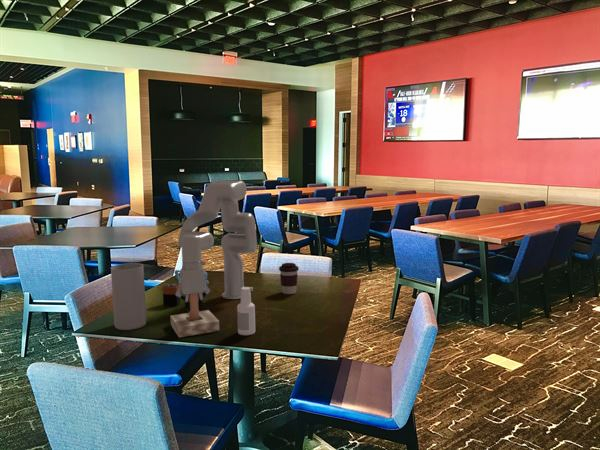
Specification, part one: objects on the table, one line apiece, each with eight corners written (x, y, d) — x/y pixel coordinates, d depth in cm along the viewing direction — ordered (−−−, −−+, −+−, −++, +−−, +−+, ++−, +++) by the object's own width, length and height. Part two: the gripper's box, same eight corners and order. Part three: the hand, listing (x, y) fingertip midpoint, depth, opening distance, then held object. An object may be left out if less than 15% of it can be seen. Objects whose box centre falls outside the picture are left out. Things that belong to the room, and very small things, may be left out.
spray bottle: (238, 329, 191) (237, 286, 188) (255, 329, 191) (254, 285, 189) (237, 336, 184) (236, 290, 181) (255, 335, 184) (254, 290, 182)
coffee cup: (299, 290, 249) (299, 262, 247) (297, 295, 239) (297, 266, 237) (280, 289, 250) (280, 261, 248) (278, 295, 240) (277, 265, 238)
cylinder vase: (135, 318, 206) (132, 262, 202) (152, 324, 198) (149, 265, 195) (108, 326, 196) (104, 267, 193) (125, 333, 188) (121, 271, 185)
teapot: (170, 287, 258) (169, 267, 256) (198, 281, 269) (197, 262, 268) (183, 292, 246) (183, 271, 245) (212, 287, 258) (212, 266, 256)
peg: (197, 317, 195) (196, 289, 194) (200, 320, 192) (199, 291, 190) (188, 319, 194) (187, 290, 192) (190, 321, 190) (189, 292, 189)
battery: (176, 306, 223) (175, 285, 222) (163, 305, 224) (162, 285, 223) (180, 303, 227) (179, 283, 226) (167, 303, 228) (166, 282, 227)
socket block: (208, 319, 204) (208, 310, 204) (219, 330, 190) (219, 321, 189) (170, 324, 197) (170, 315, 197) (178, 337, 183) (178, 327, 182)
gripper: (210, 261, 197) (211, 304, 199) (169, 265, 190) (170, 310, 192) (215, 265, 190) (216, 309, 193) (172, 269, 183) (174, 315, 185)
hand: (193, 309), depth 192 cm, fingers closed on peg, 4 cm apart
